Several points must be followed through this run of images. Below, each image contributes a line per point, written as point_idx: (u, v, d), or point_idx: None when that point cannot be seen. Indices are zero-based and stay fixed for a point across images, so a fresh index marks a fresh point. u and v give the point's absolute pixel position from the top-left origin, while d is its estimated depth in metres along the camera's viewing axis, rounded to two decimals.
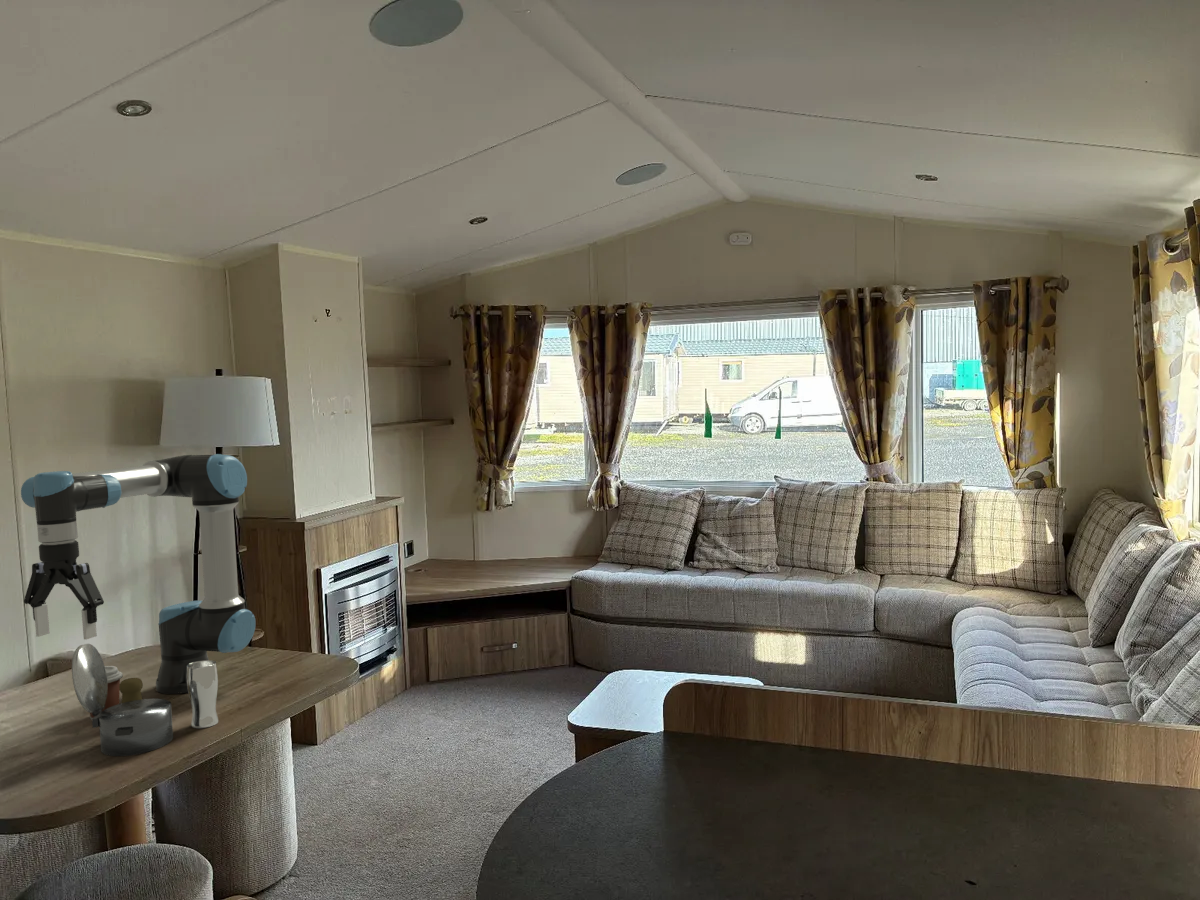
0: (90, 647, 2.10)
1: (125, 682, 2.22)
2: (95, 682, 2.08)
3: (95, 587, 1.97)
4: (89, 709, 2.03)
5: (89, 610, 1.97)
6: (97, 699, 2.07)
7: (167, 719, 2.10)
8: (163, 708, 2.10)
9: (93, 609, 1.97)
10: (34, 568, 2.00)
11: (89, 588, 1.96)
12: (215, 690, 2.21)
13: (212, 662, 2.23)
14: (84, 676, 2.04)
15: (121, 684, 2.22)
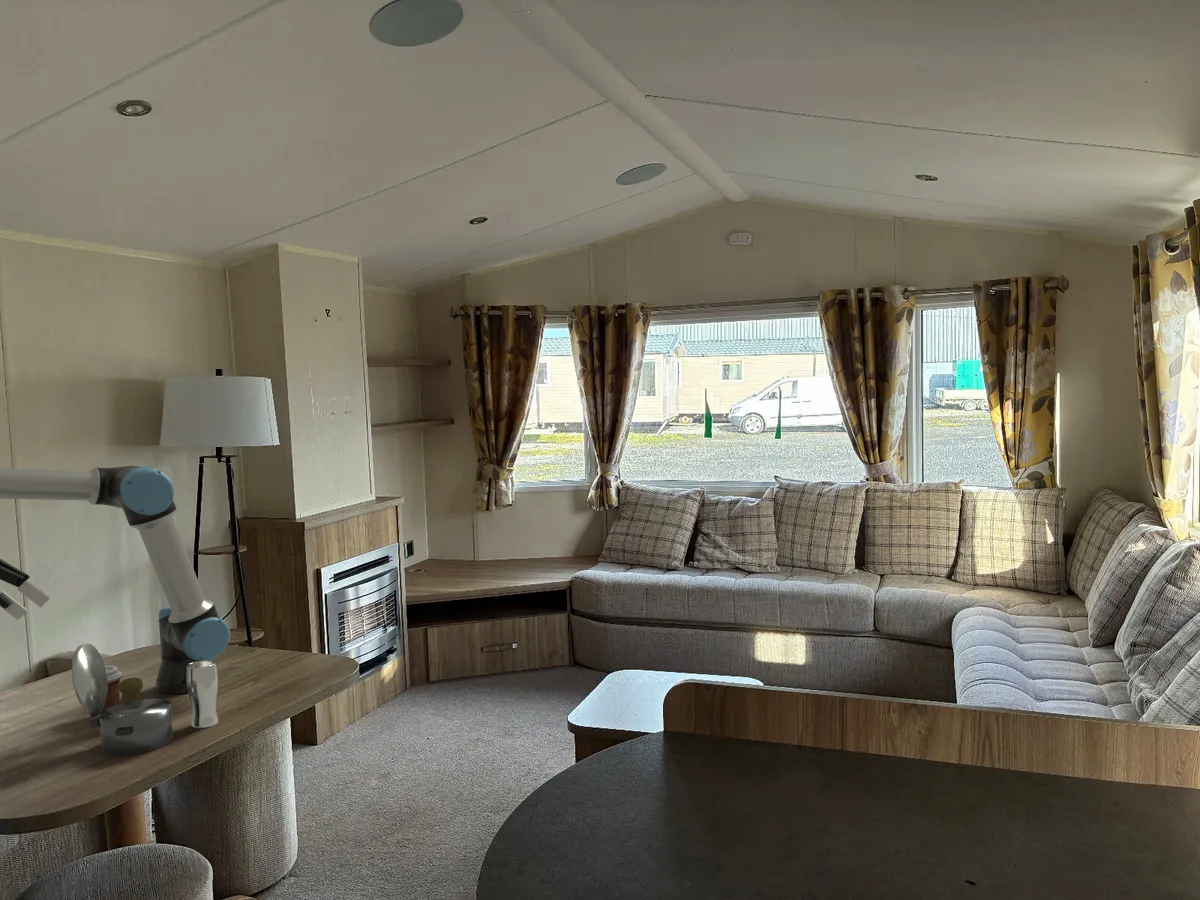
0: (90, 647, 2.10)
1: (125, 682, 2.22)
2: (95, 682, 2.08)
3: None
4: (89, 709, 2.03)
5: None
6: (97, 699, 2.07)
7: (167, 719, 2.10)
8: (163, 708, 2.10)
9: None
10: None
11: None
12: (215, 690, 2.21)
13: (212, 662, 2.23)
14: (84, 676, 2.04)
15: (121, 684, 2.22)
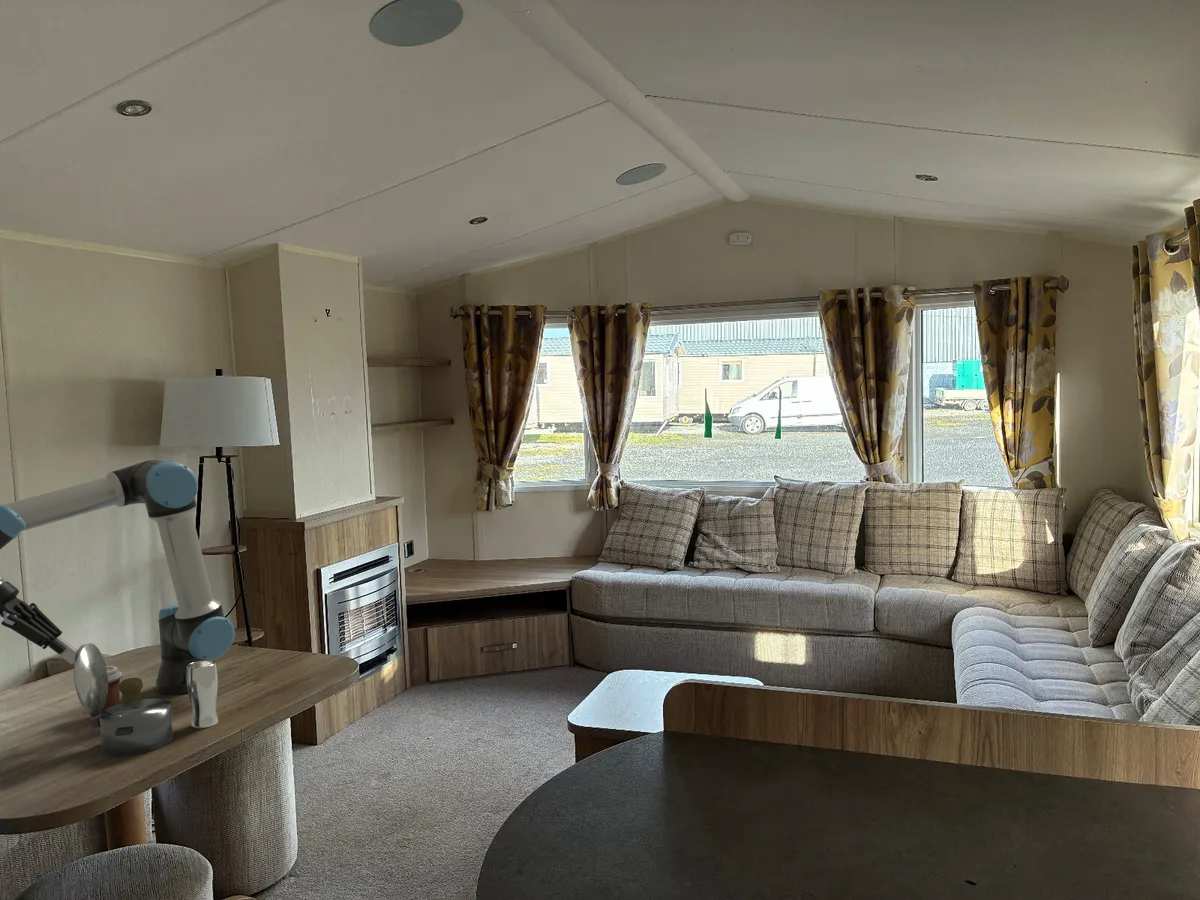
0: (92, 647, 2.10)
1: (125, 682, 2.22)
2: (96, 682, 2.08)
3: (31, 631, 2.00)
4: (89, 709, 2.03)
5: None
6: (97, 699, 2.07)
7: (167, 719, 2.10)
8: (163, 708, 2.10)
9: (50, 643, 2.04)
10: None
11: (26, 635, 2.00)
12: (215, 690, 2.21)
13: (212, 662, 2.23)
14: (86, 675, 2.04)
15: (121, 684, 2.22)
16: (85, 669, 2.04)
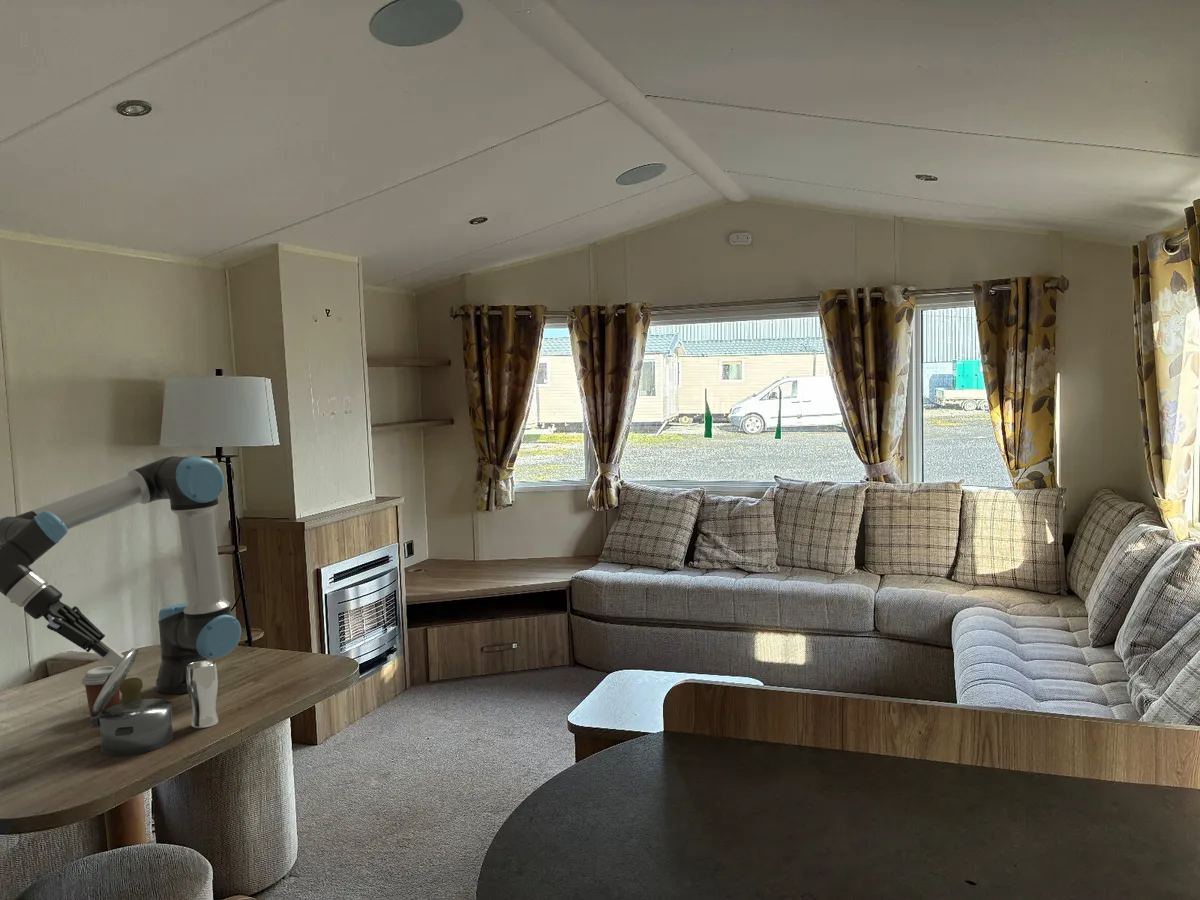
0: (136, 653, 2.12)
1: (125, 682, 2.22)
2: (116, 686, 2.09)
3: (76, 634, 2.02)
4: (95, 710, 2.04)
5: None
6: (106, 701, 2.08)
7: (167, 719, 2.10)
8: (163, 708, 2.10)
9: (94, 646, 2.06)
10: None
11: (70, 639, 2.02)
12: (215, 690, 2.21)
13: (212, 662, 2.23)
14: (116, 680, 2.05)
15: (121, 684, 2.22)
16: (119, 674, 2.05)
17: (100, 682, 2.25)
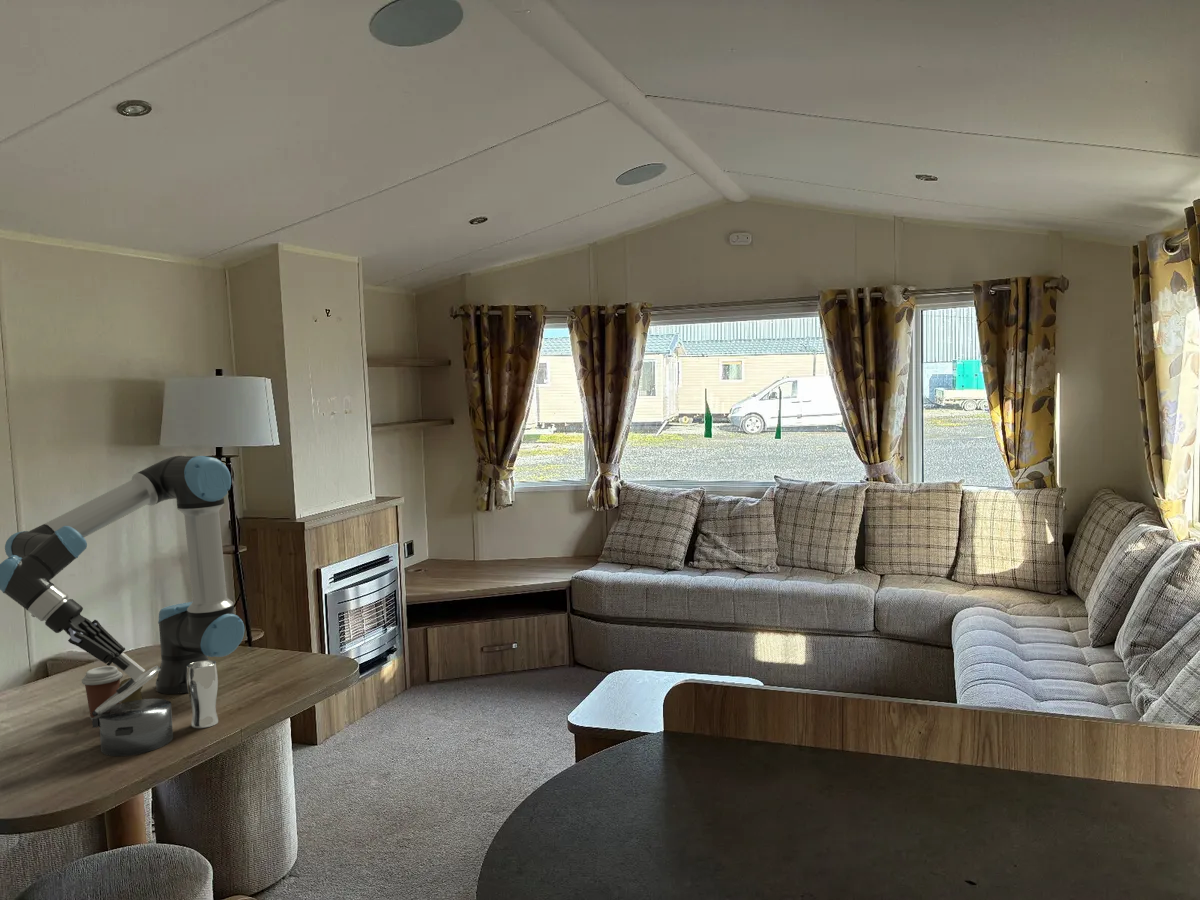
0: None
1: None
2: None
3: (97, 648, 2.03)
4: (98, 712, 2.04)
5: None
6: None
7: (167, 719, 2.10)
8: (163, 708, 2.10)
9: (115, 660, 2.07)
10: None
11: (91, 652, 2.03)
12: (215, 690, 2.21)
13: (212, 662, 2.23)
14: None
15: (121, 684, 2.22)
16: None
17: (100, 682, 2.25)
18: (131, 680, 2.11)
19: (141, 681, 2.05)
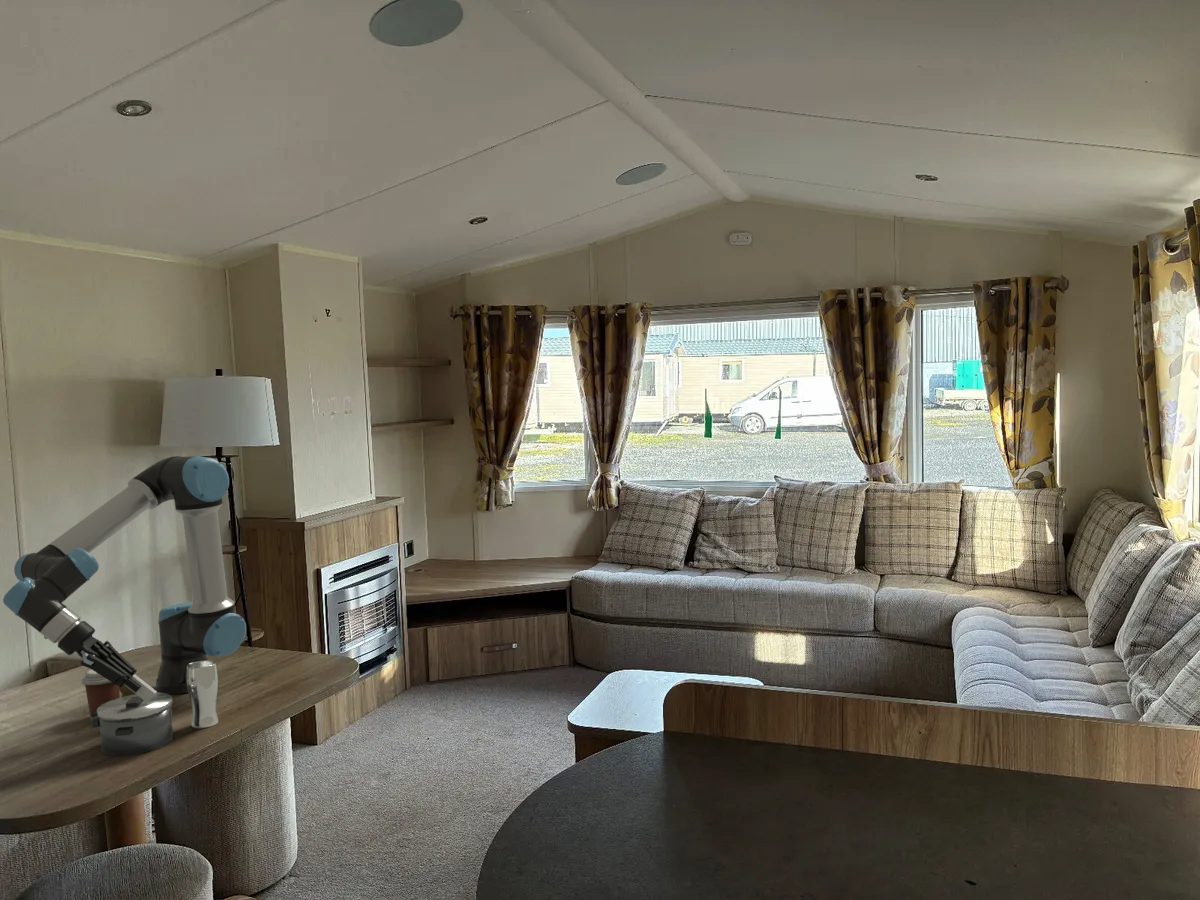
0: None
1: None
2: None
3: (109, 670, 2.04)
4: (99, 717, 2.04)
5: None
6: None
7: (167, 719, 2.10)
8: None
9: (127, 682, 2.07)
10: None
11: (104, 675, 2.04)
12: (215, 690, 2.21)
13: (212, 662, 2.23)
14: None
15: None
16: None
17: (100, 682, 2.25)
18: None
19: (153, 710, 2.06)
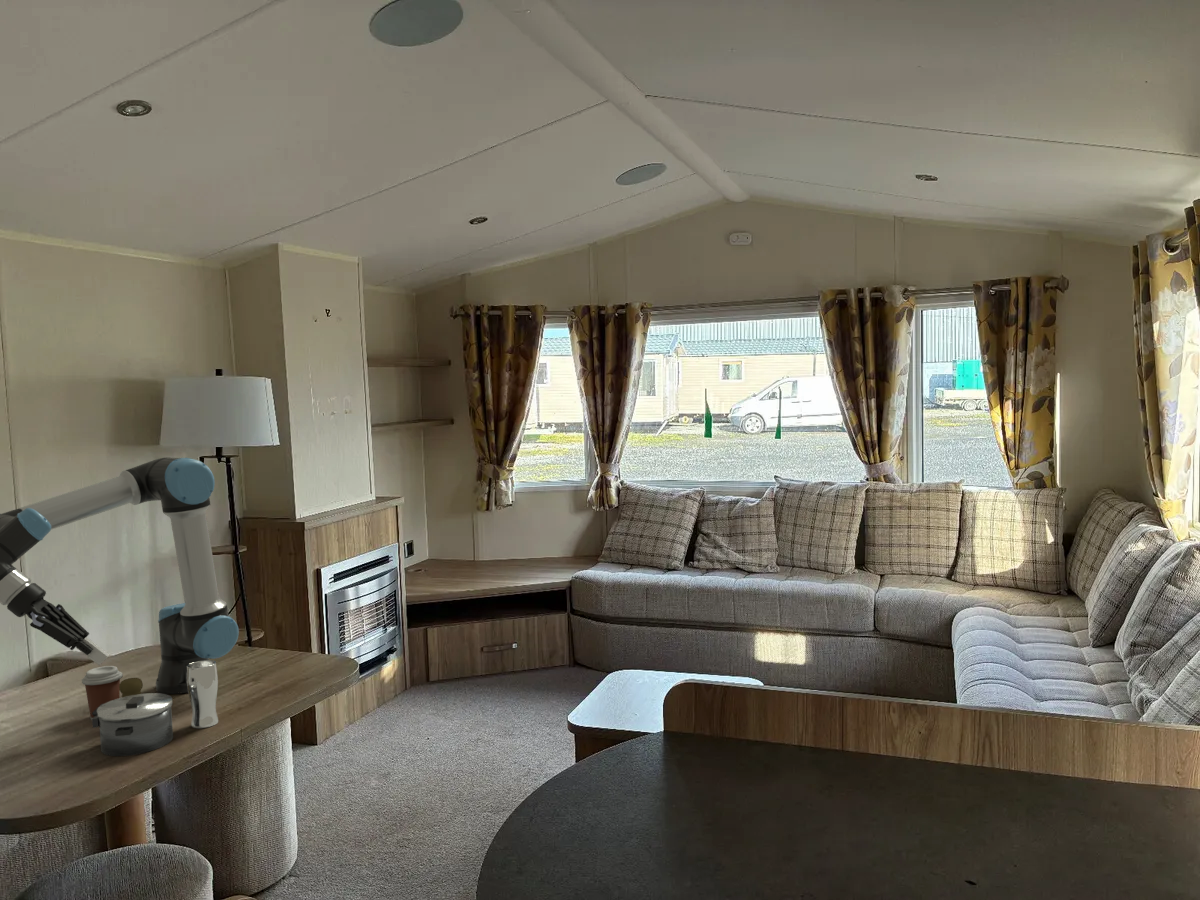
0: None
1: (125, 682, 2.22)
2: None
3: (60, 632, 2.02)
4: (99, 717, 2.04)
5: None
6: None
7: (167, 719, 2.10)
8: None
9: (78, 644, 2.05)
10: None
11: (54, 637, 2.01)
12: (215, 690, 2.21)
13: (212, 662, 2.23)
14: None
15: (121, 684, 2.22)
16: None
17: (100, 682, 2.25)
18: (142, 699, 2.11)
19: (154, 711, 2.06)
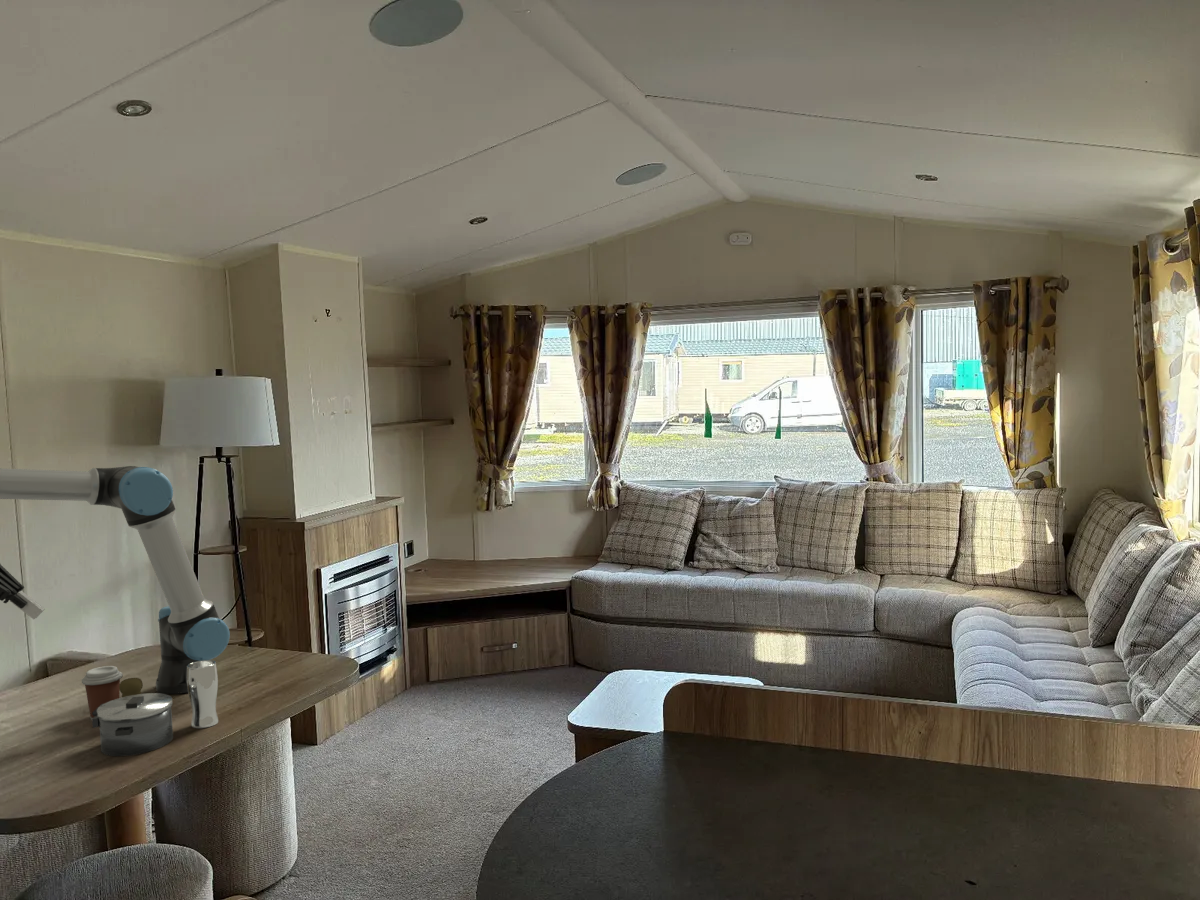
0: None
1: (125, 682, 2.22)
2: None
3: None
4: (99, 717, 2.04)
5: None
6: None
7: (167, 719, 2.10)
8: None
9: (12, 598, 2.02)
10: None
11: None
12: (215, 690, 2.21)
13: (212, 662, 2.23)
14: None
15: (121, 684, 2.22)
16: None
17: (100, 682, 2.25)
18: (142, 699, 2.11)
19: (154, 711, 2.06)
